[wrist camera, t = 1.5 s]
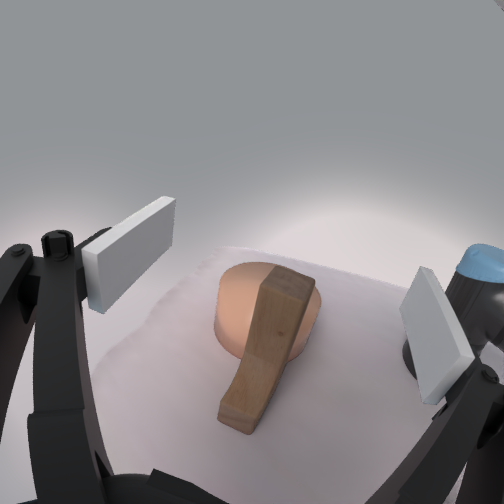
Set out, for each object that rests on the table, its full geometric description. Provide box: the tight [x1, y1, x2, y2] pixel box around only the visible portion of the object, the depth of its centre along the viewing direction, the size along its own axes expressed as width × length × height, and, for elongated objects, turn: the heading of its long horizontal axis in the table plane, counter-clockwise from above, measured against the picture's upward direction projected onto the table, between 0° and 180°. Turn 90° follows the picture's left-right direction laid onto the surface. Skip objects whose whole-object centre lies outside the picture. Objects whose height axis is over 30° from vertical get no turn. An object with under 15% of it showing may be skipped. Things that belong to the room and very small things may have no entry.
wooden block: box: [217, 265, 315, 435], centre depth 31 cm, size 9×4×18 cm, turn 156°
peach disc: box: [214, 262, 321, 362], centre depth 47 cm, size 15×15×8 cm
